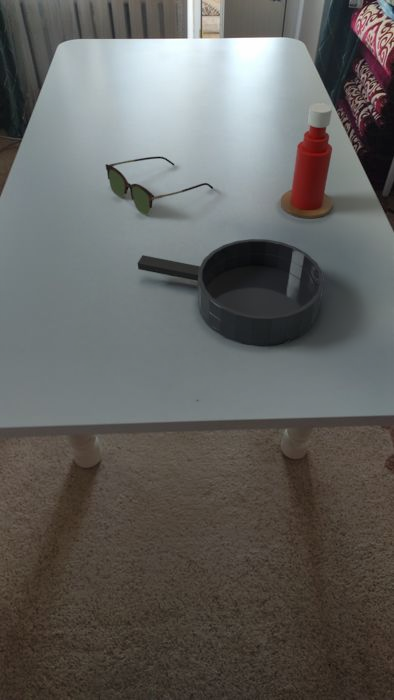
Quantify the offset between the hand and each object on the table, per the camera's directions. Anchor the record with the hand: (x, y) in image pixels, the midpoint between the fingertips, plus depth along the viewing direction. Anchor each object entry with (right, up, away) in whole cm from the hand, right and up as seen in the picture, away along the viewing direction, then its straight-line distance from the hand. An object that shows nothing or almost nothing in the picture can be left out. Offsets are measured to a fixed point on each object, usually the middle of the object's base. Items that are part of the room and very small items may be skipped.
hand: (315, 3), depth 65 cm
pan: (-5, -34, +14) cm, 37 cm away
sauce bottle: (+5, -15, +31) cm, 35 cm away
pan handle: (-18, -30, +15) cm, 38 cm away
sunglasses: (-20, -12, +36) cm, 43 cm away
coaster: (+5, -15, +32) cm, 36 cm away
